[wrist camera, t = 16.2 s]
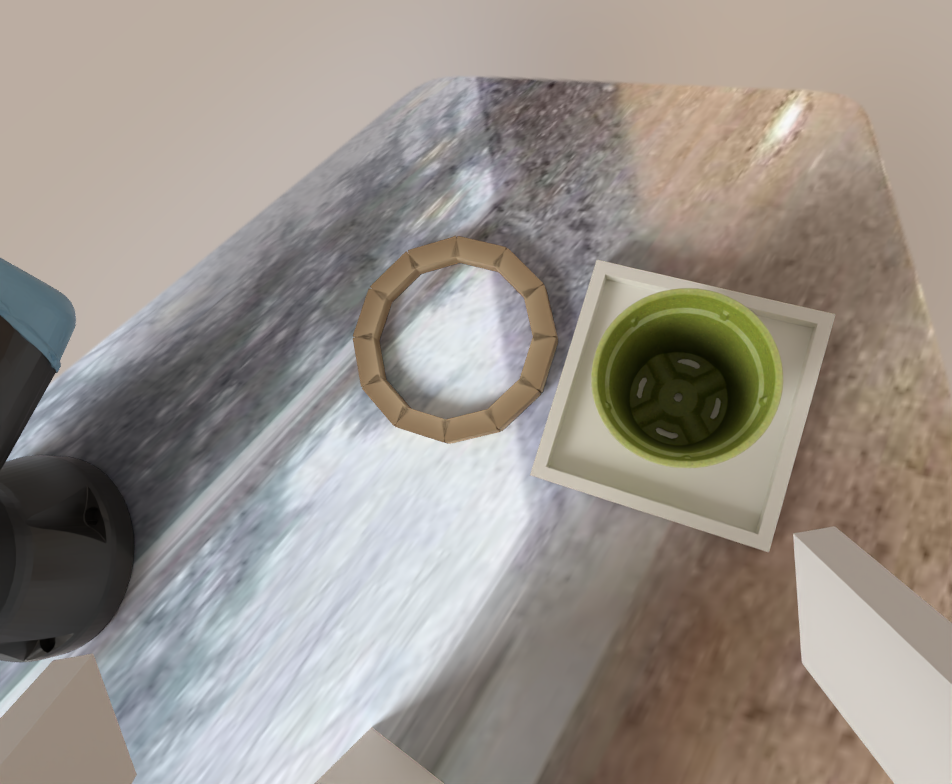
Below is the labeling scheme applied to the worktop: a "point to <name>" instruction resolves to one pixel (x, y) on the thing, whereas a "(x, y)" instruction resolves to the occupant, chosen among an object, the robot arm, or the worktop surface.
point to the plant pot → (687, 377)
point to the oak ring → (405, 275)
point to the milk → (376, 764)
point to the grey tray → (668, 488)
